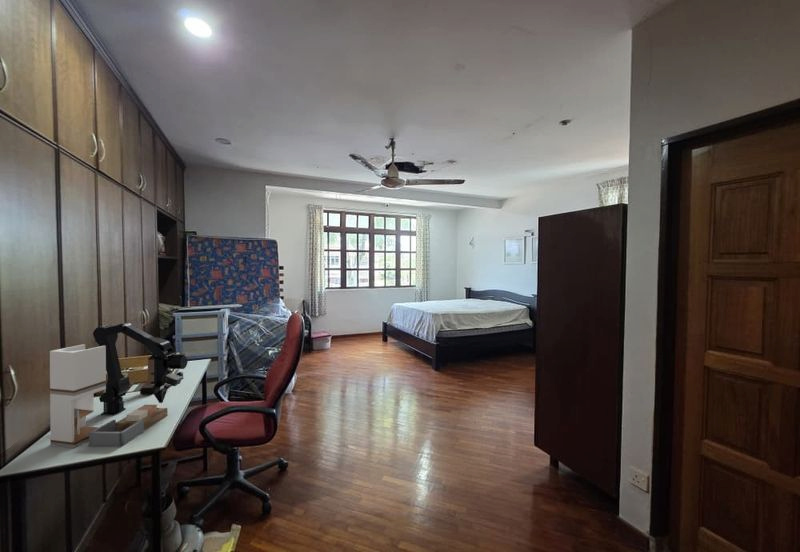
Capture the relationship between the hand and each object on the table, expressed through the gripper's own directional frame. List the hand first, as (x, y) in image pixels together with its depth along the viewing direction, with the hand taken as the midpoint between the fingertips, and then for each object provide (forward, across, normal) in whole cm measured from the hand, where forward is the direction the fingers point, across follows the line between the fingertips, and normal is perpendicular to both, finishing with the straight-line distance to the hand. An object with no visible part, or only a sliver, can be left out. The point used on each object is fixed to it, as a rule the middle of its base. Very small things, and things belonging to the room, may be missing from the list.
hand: (161, 402), depth 156 cm
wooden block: (+4, +24, +21) cm, 33 cm away
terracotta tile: (+1, -9, 0) cm, 9 cm away
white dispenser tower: (+4, -25, +14) cm, 29 cm away
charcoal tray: (+4, -25, 0) cm, 25 cm away
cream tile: (+1, -15, 0) cm, 15 cm away
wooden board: (+4, -12, 0) cm, 12 cm away
